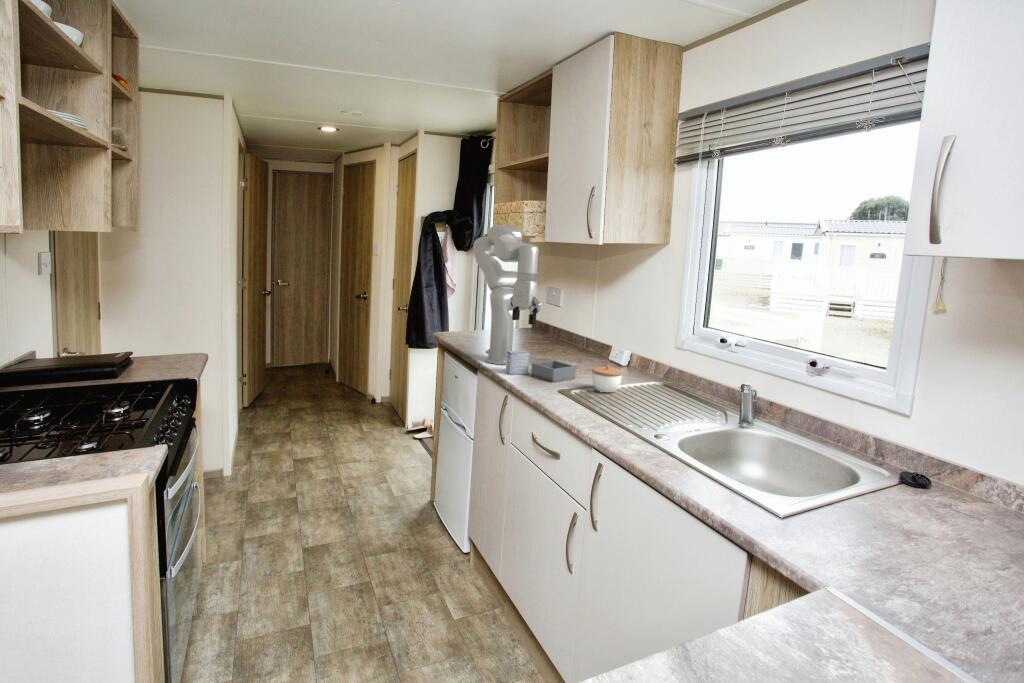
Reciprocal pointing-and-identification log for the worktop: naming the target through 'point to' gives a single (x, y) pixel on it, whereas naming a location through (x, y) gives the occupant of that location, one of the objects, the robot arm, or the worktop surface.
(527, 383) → the worktop surface
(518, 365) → the medicine box
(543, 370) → the bin
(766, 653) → the worktop surface
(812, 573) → the worktop surface
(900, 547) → the worktop surface
